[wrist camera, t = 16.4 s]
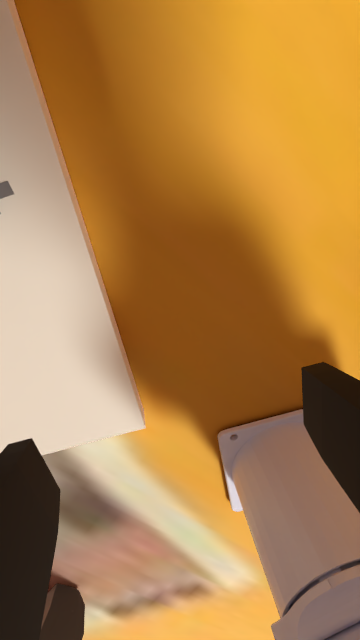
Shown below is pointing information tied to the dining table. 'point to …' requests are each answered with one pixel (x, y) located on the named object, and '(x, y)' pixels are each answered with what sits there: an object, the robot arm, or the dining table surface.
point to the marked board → (50, 282)
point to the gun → (63, 614)
